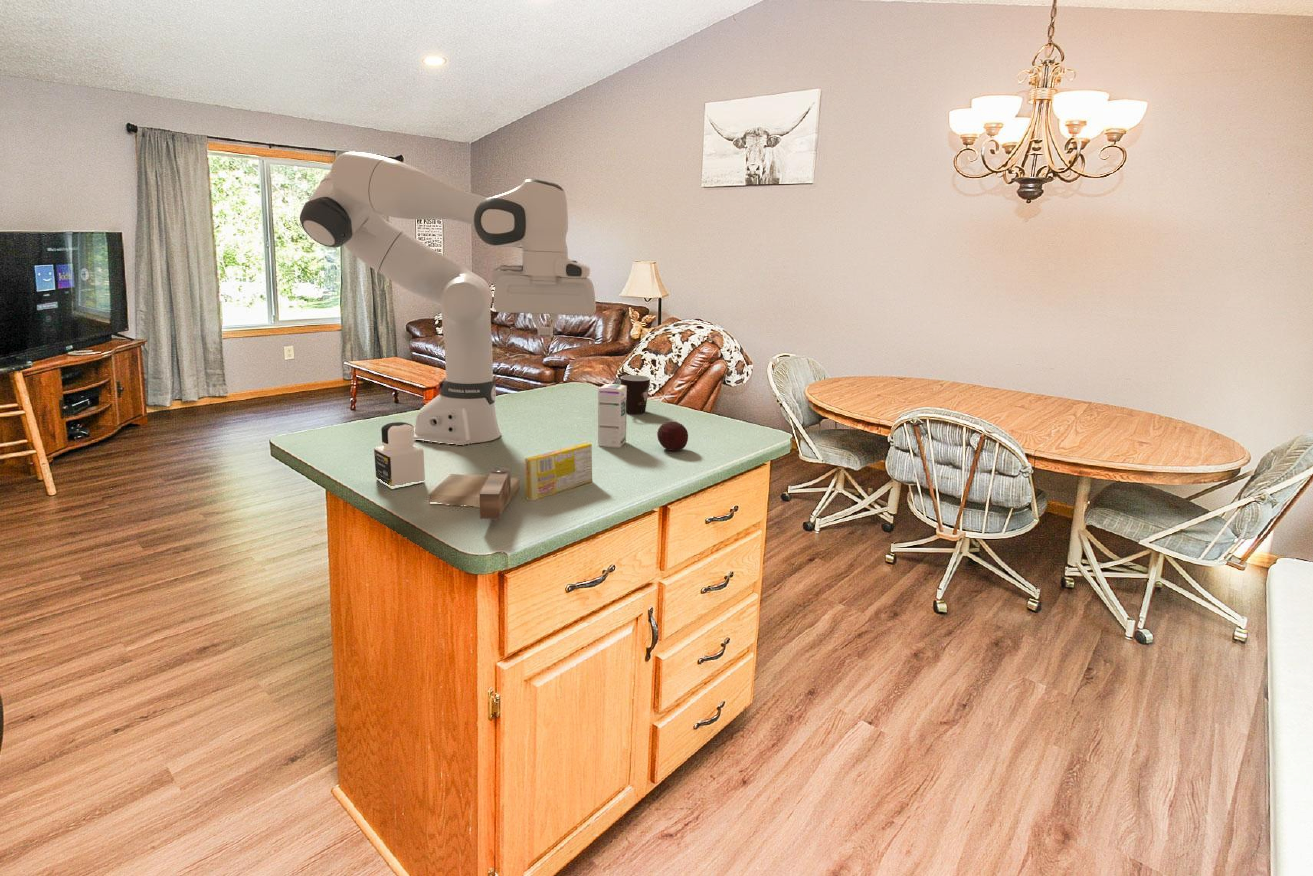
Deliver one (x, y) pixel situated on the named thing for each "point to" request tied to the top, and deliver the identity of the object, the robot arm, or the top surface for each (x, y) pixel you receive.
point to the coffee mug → (636, 393)
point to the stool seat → (465, 490)
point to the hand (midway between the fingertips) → (545, 336)
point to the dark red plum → (672, 436)
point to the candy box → (558, 470)
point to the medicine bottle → (399, 455)
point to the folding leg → (495, 493)
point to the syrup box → (612, 415)
